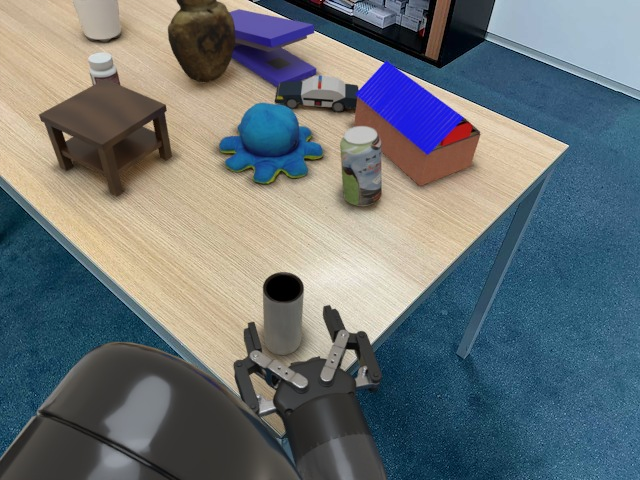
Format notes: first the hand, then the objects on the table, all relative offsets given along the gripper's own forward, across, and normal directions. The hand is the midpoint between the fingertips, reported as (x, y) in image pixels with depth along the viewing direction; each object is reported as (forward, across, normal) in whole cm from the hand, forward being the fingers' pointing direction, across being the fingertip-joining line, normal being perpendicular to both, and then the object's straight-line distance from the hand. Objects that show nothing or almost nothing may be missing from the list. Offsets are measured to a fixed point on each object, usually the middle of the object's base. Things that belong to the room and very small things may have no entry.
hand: (288, 317), depth 60 cm
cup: (+90, +17, +8) cm, 92 cm away
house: (+36, -33, +8) cm, 50 cm away
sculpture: (+66, -2, +8) cm, 67 cm away
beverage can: (+25, -19, +8) cm, 33 cm away
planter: (+3, 0, +8) cm, 8 cm away
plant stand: (+43, +17, +8) cm, 47 cm away
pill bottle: (+63, +17, +8) cm, 66 cm away
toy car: (+53, -21, +8) cm, 58 cm away
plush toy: (+40, -8, +8) cm, 42 cm away
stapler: (+75, -14, +8) cm, 77 cm away
